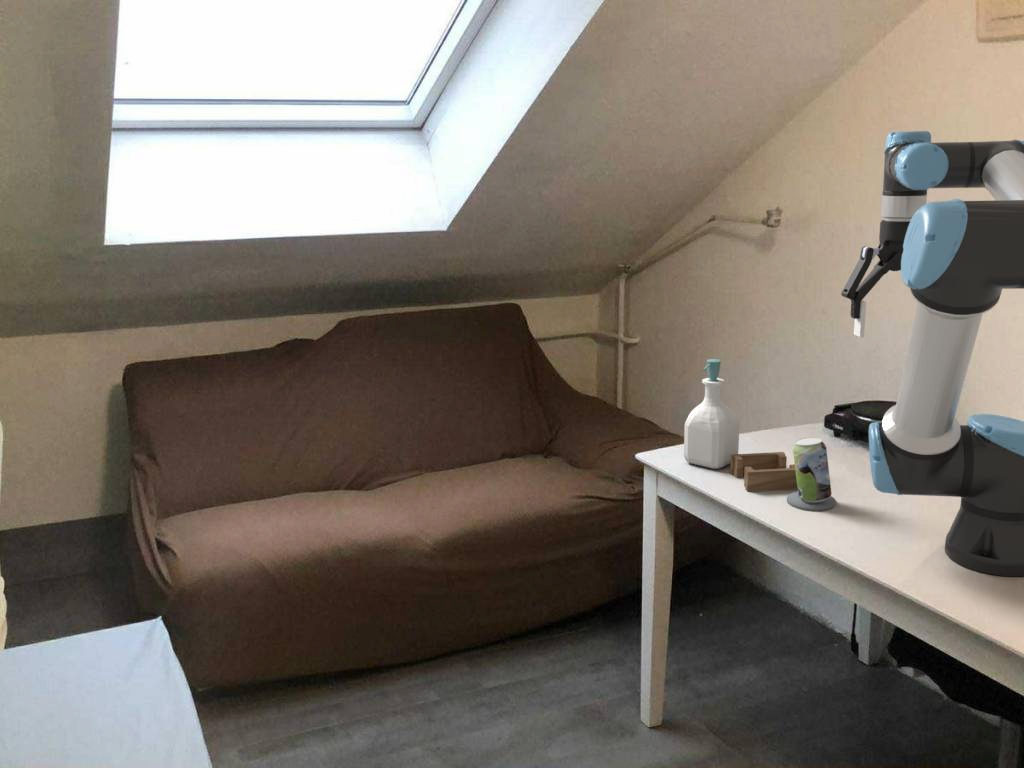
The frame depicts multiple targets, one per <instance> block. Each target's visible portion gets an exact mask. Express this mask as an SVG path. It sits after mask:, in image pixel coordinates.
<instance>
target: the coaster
mask: <svg viewBox="0 0 1024 768" xmlns="http://www.w3.org/2000/svg"><path fill="white" fill-rule="evenodd" d="M786 502H787V504H788V505H790V507H794V508H795V509H799V510H801V511H802V510H803V511H811V512H823V511H830V510H832V509H834V508H835V507H836V506H837V499H836V498H835V497H834V496H832V495H831V496H830V497H828V499H827V500H825V501H822V502H815V503H811V502H806V501H804V500H803V499H801V498H799V496H798V491H793V492H791V493H789V494H788V495H787V496H786Z"/></svg>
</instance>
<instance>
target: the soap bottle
mask: <svg viewBox="0 0 1024 768" xmlns="http://www.w3.org/2000/svg"><path fill="white" fill-rule="evenodd" d="M720 367H721V359H718V358H717V359H716V358H709V359H706V365H705V367H703V369H702V371H706V370H707V376H708V377H705V378H703V379H702V380H701V382H702V384H703V385H704V397H703V401H702V402H701V403H699V404H698V405H697V406H695V407H694V408H693V409H692V410H691V411H690V412H689V414H688V417H687V418H686V420H685V422H684V434H683V435H684V436H683V437H684V438H683V440H684V442H683V457H684V460H685V461H686V462H687V463H688V464H692V465H697V466H701V467H704V468H708V469H712V470H715V469H718V470H719V469H721V468H724V467H726V466H728V465H730V459H731V455H732V454H739V444H740V443H739V442H740V420H739V418H738V416H737V414H736V413H734V411H732V409H731V408H730V407H729V406H728V405H726V404H725V403H724V402H723V400H722V397H721V396H722V395H721V394H722V385H723V384H725V380H724V379H723V378H719V375H720Z"/></svg>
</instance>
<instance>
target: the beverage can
mask: <svg viewBox="0 0 1024 768" xmlns="http://www.w3.org/2000/svg"><path fill="white" fill-rule="evenodd" d="M792 452H793V453H792V454H793V461H794V464H795V471H796V479H797V487H798V489H797V492H798V496H799V498H801V499H803V500H804V501H806V502H811V503H815V502H822V501H825V500H827V499H828V497H830V496H832V487H831V486H832V485H831V478H830V477H831V476H830V467H829V459H828V458H829V457H828V451H827V445H826V444H825V443H824V441H823V439H822V438H820V437H805V438H804V437H803V438H799V439H797V440H796V441H795V444H794V446H793V448H792Z"/></svg>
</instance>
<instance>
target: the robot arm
mask: <svg viewBox="0 0 1024 768" xmlns="http://www.w3.org/2000/svg"><path fill="white" fill-rule="evenodd" d="M885 141H886V142H885V148H884V150H883V154H884V163H883V164H884V165H883V166H884V167H883V182H882V183H883V185H882V194H881V195H882V196H881V207H880V208H881V210H880V217H882V218H883V219H882V220H881V221H880V222H879V223H880V224H879V233H878V234H879V238H878V240H879V243H878V244H879V245H878V247H870V246H866V245H865V246H862V247H861V250H860V256H859V259H858V261H857V263H856V265H855V266H854V269H853V270H852V272H851V274H850V276H849V278H848V280H847V282H846V283H845V286H844V287H843V289H842V291H841V293H840V294H841V296H842V297H844V298H846V299H849V300H850V303H851V304H850V317H851V319H854V323H853V335H854V336H857V337H859V338H865V325H866V311H867V301H865V300H864V298H865V297H866V296H867V295H868V294H869V292H871V290H872V289H874V287H875V286H876V285H877V284H878V282H879V281H880V280H881V279H882V278H883V276H884V275H886V274H887V273H888V272H889V271H892V272H899V271H900V273H901V274H900V275H901V278H902V279H901V280H902V282H903V284H904V285H905V286H906V287H908V288H909V291H910V294H911V295H912V298H913V299H914V300H915V301H916V302H917V305H916V309H915V313H914V319H913V324H912V328H911V329H912V330H911V332H910V337H909V343H908V346H907V351H906V356H905V361H904V366H903V371H902V375H901V380H900V383H899V384H900V386H899V389H898V394H897V398H896V404H894V405H892V406H890V408H889V409H887V410H886V412H885V413H884V415H883V418H882V420H881V421H879V420H878V421H874V422H872V423H869V426H868V447H869V463H870V472H871V479H872V480H871V481H872V484H873V486H874V488H875V489H876V490H877V491H878V492H881V493H883V494H884V493H885V494H893V495H897V496H905V495H906V496H924V497H925V496H928V497H931V496H932V497H952V498H954V497H957V498H961V499H960V507H959V509H958V512H957V513H956V515H955V518H954V520H953V522H952V524H951V527H950V528H949V531H948V532H947V534H946V536H945V542H944V552H945V555H946V556H947V557H948V558H949V559H951V561H953V562H955V563H956V564H958V565H960V566H963V567H965V568H967V569H970V570H972V571H973V570H974V571H976V572H980V573H984V574H989V575H995V576H1001V577H1002V576H1003V577H1004V576H1005V577H1024V420H1020V419H1016V418H1012V417H1009V416H1004V415H999V414H990V413H980V414H979V413H978V414H971V416H970V417H969V418H968V420H967V421H966V425H962V424H960V422H959V421H958V419H957V418H956V417H955V416H956V414H957V410H958V406H959V402H960V398H961V395H962V393H963V392H962V391H963V387H964V385H965V384H964V383H965V381H966V376H967V373H968V372H967V371H968V370H969V365H970V363H971V362H970V361H971V360H972V359H971V358H972V354H973V351H974V347H975V343H976V339H977V336H978V333H979V328H980V325H981V322H982V317H983V314H985V313H987V312H989V311H990V310H993V308H994V307H996V305H998V303H999V301H1000V297H1001V295H1002V291H1003V289H1005V290H1006V289H1008V290H1009V289H1012V290H1013V289H1015V290H1016V289H1024V140H1019V139H1012V140H994V141H993V140H991V141H988V140H987V141H954V142H951V141H950V142H948V141H946V142H932V134H931V132H929V131H927V130H913V131H912V130H910V131H891V132H889V133H888V135H887V136H886V140H885ZM975 188H976V189H979V188H981V189H983V188H984V189H986V190H987V191H988V193H990V195H991V196H992V197H993V199H994V200H962V199H959V198H958V199H957V198H953V199H949V200H946V201H945V200H943V201H940V200H939V201H930V202H927V199H928V190H929V189H975ZM876 256H877V257H878V259H879V260H878V261H877V262H876V264H875V265H874V266H873V269H872V270H871V271H870V272H869V274H868V275H867V276H866V277H865V275H866V273H867V271H868V270H869V267H870V265H872V264H871V263H872V261H873V260H874V259H875V258H876ZM864 277H865V278H864ZM863 278H864V279H863Z"/></svg>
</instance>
